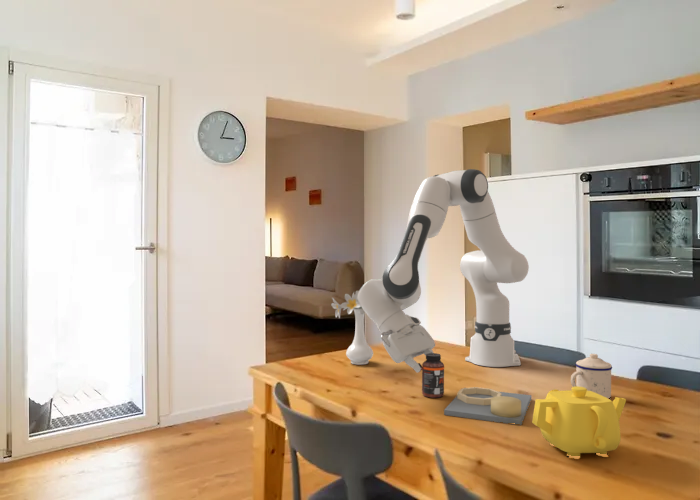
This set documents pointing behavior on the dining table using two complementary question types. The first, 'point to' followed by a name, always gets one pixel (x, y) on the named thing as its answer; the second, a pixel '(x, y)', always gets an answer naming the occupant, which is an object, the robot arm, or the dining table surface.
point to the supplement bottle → (433, 376)
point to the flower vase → (359, 348)
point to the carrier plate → (489, 405)
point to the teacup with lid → (593, 375)
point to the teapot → (579, 420)
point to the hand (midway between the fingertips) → (428, 367)
